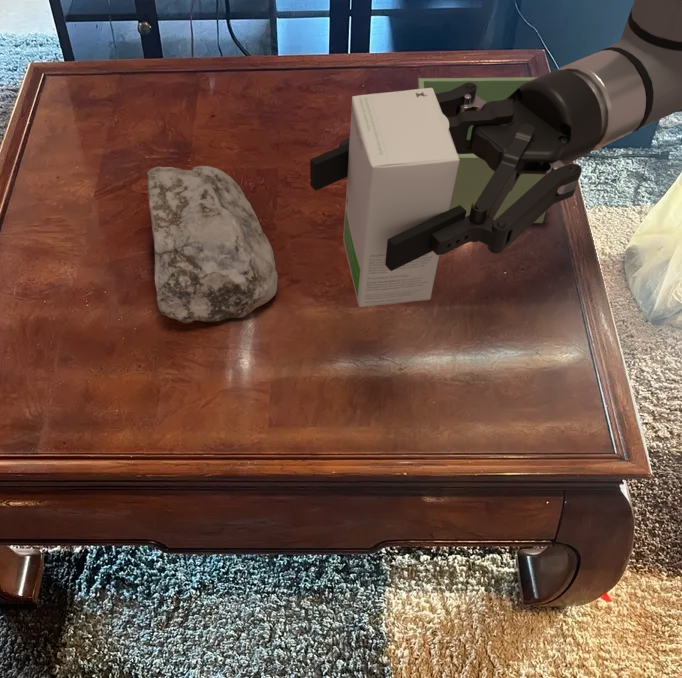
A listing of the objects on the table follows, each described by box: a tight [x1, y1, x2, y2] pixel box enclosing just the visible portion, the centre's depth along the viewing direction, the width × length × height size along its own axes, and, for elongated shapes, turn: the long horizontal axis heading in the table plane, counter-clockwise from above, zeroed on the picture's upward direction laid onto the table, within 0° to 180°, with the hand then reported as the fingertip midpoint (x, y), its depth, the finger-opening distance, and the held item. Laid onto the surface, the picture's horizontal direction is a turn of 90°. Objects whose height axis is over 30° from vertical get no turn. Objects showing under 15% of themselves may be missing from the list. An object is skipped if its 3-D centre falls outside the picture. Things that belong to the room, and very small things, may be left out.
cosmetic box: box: [342, 88, 460, 308], centre depth 64 cm, size 8×7×16 cm
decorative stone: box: [146, 165, 279, 324], centre depth 88 cm, size 20×14×10 cm
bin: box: [416, 76, 547, 224], centre depth 93 cm, size 14×14×10 cm
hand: (349, 213), depth 61 cm, fingers closed on cosmetic box, 10 cm apart
